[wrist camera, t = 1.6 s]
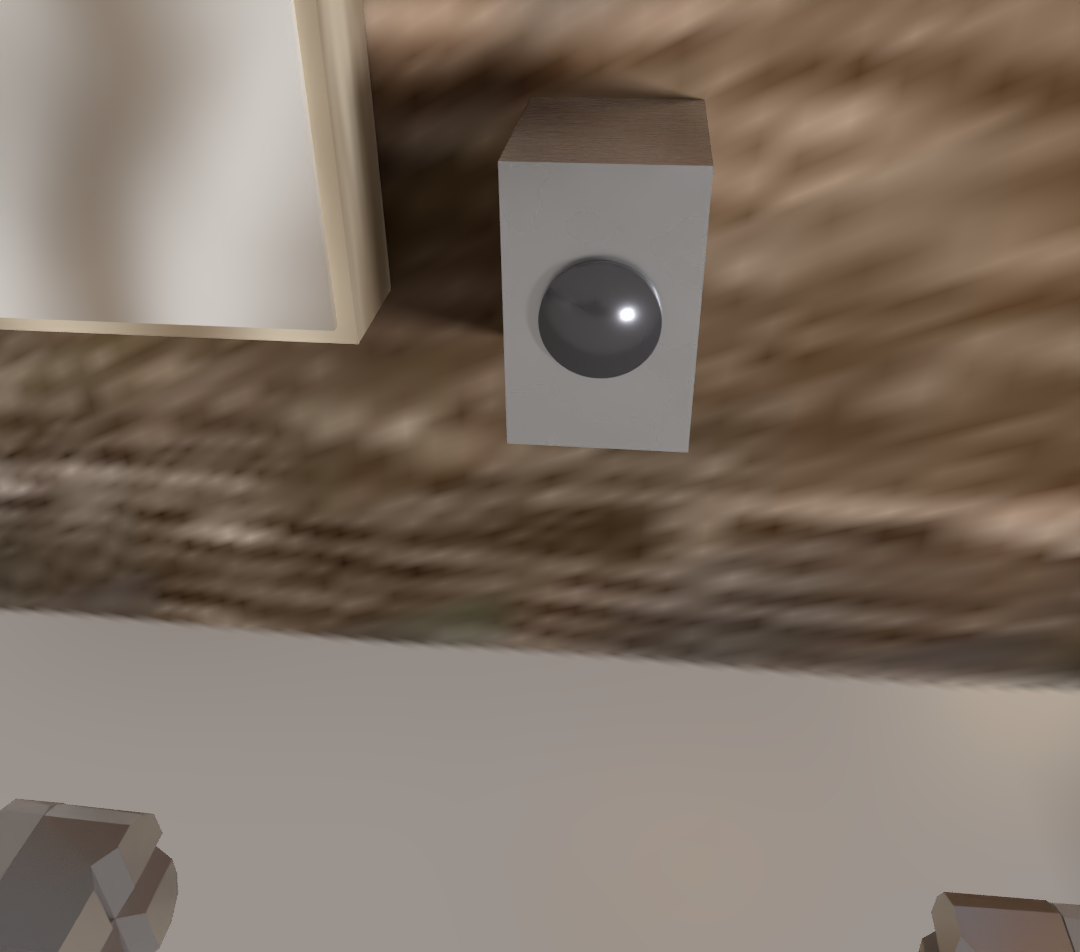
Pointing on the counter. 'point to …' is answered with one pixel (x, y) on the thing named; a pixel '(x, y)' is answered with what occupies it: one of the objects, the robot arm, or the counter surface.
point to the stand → (189, 169)
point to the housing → (603, 270)
